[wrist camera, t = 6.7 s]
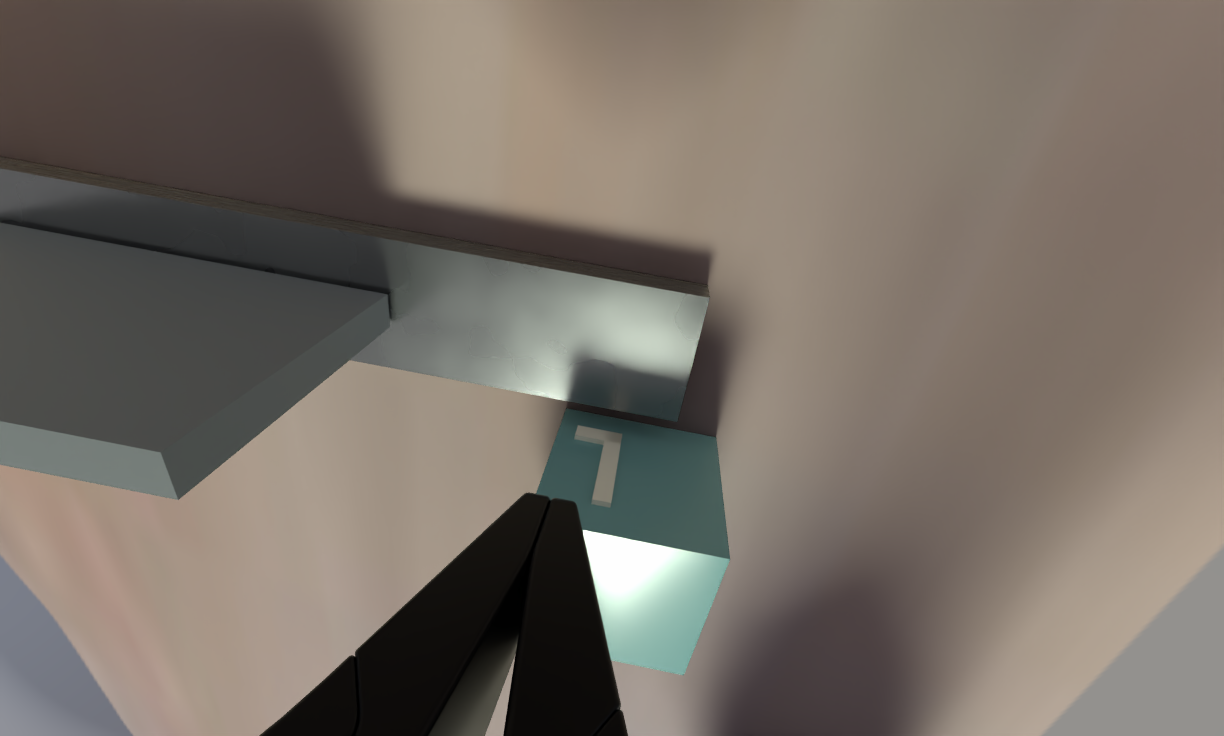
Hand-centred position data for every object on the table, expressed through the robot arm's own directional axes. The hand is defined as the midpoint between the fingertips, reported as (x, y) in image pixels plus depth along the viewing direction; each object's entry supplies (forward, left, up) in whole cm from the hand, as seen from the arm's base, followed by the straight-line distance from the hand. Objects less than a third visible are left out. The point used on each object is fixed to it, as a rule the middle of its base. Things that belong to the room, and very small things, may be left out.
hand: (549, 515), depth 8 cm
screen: (+11, +5, -6) cm, 14 cm away
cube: (-4, +5, -8) cm, 10 cm away
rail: (+7, +3, -8) cm, 11 cm away
